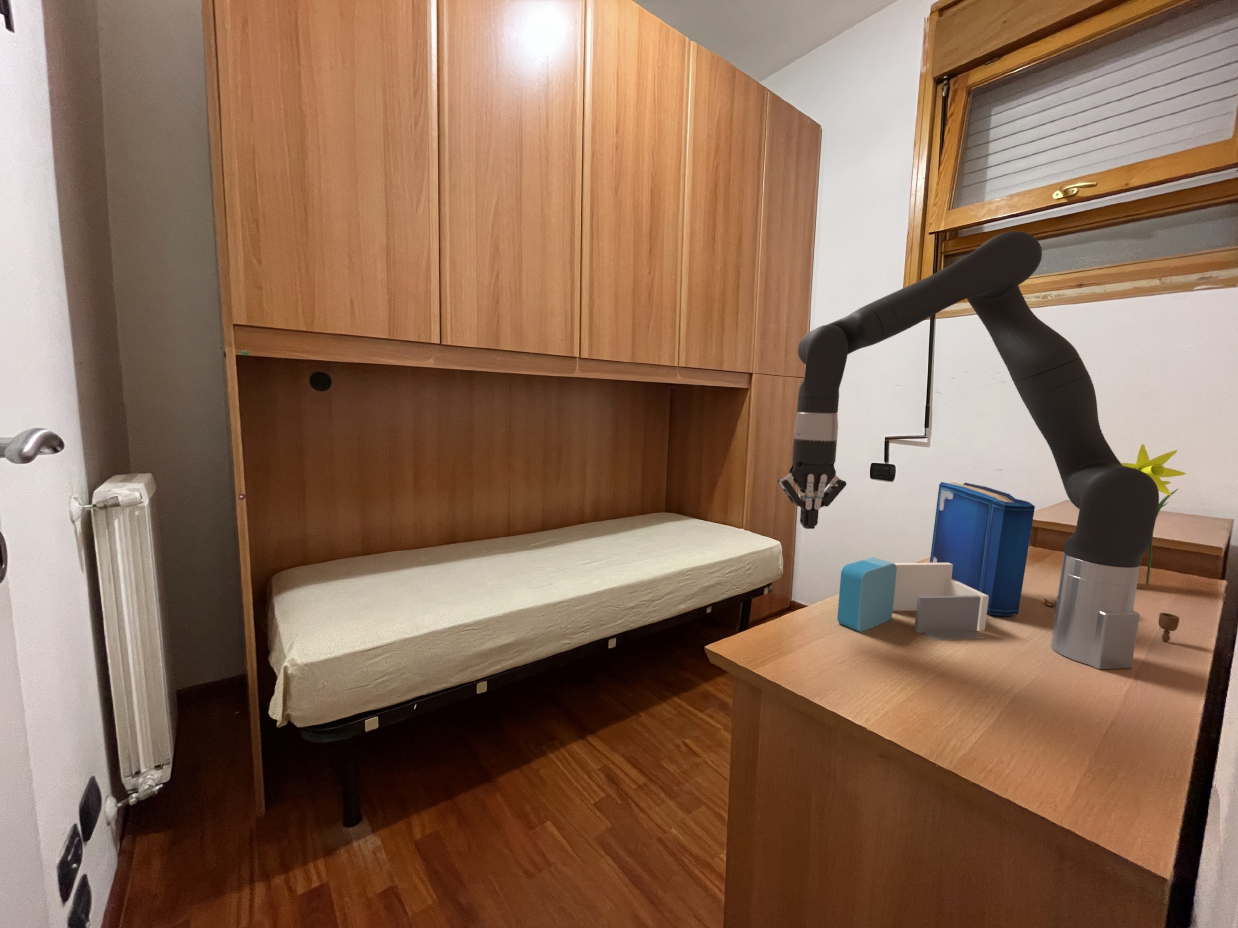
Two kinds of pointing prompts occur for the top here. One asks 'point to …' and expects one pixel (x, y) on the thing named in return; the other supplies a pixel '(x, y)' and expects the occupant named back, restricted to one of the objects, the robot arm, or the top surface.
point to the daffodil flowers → (1155, 471)
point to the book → (984, 541)
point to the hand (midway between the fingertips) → (808, 527)
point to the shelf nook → (939, 601)
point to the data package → (866, 593)
